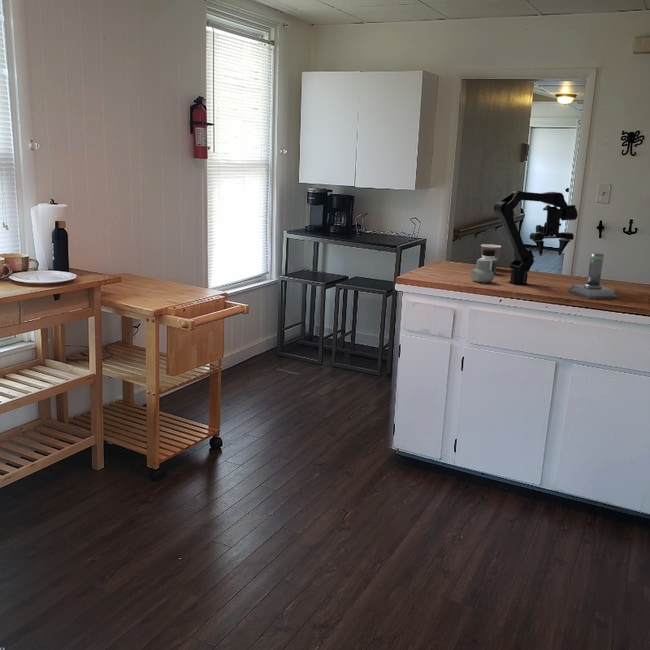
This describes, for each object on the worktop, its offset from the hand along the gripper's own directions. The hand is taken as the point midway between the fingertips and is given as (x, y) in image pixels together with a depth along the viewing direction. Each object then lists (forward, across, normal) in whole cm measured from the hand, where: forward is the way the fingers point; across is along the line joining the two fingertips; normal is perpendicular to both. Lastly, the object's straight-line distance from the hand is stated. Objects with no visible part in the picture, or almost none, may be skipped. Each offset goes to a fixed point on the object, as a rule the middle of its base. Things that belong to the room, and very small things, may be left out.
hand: (550, 255), depth 304 cm
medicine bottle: (+13, +18, -27) cm, 35 cm away
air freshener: (+12, +30, -4) cm, 33 cm away
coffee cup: (+13, +11, -40) cm, 43 cm away
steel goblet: (+10, -6, +27) cm, 29 cm away
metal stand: (+13, -6, +27) cm, 30 cm away
